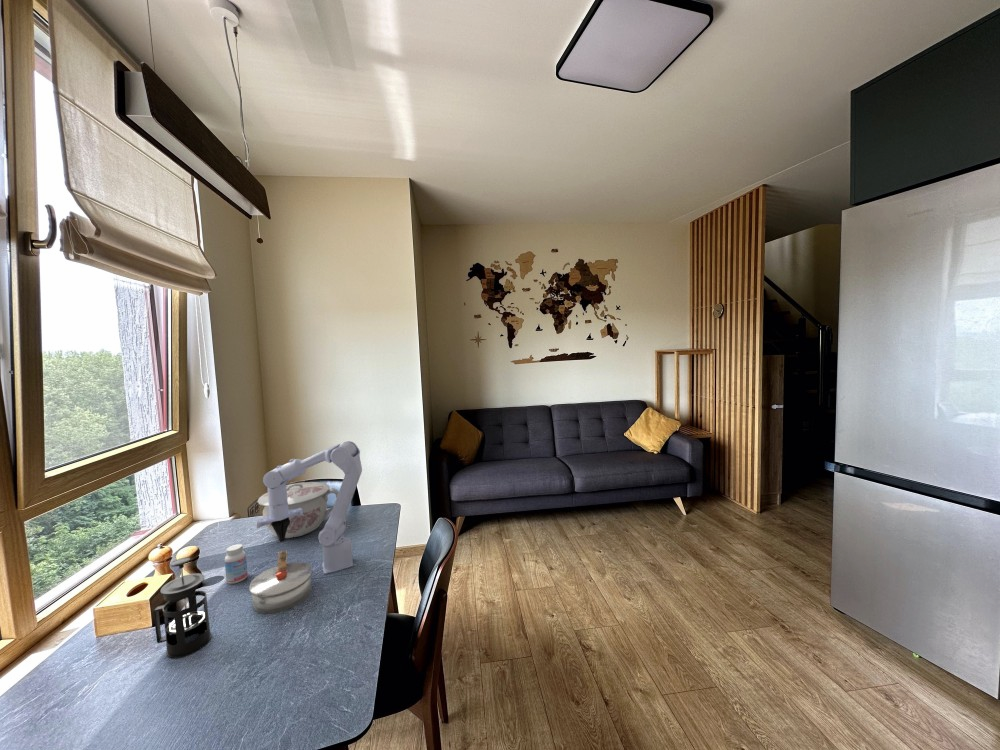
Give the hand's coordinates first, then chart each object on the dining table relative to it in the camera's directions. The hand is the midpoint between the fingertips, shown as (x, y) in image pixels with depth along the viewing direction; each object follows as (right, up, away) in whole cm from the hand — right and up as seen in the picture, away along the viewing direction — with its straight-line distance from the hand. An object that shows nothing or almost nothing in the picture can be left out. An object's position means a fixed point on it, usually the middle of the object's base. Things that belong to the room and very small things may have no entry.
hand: (281, 540), depth 137 cm
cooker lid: (+8, -6, -13) cm, 16 cm away
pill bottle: (-13, -12, -4) cm, 18 cm away
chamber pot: (-10, -9, +31) cm, 34 cm away
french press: (-6, -13, -34) cm, 37 cm away
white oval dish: (+7, -11, -12) cm, 18 cm away
